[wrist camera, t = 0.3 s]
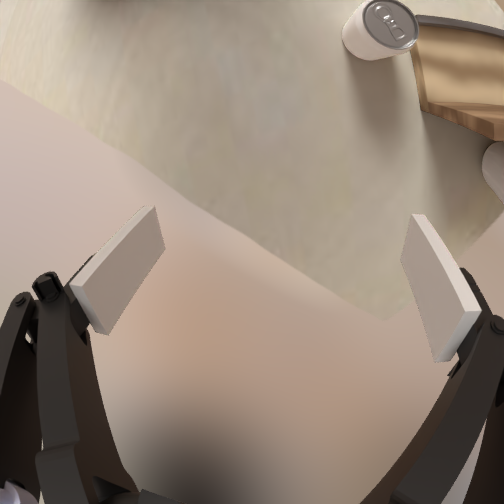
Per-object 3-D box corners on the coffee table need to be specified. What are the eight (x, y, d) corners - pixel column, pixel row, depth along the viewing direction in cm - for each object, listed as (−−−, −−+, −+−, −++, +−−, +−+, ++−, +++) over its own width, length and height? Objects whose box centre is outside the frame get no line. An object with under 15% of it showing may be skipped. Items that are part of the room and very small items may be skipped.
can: (369, 10, 23) (395, -15, 14) (398, 49, 26) (435, 40, 16) (331, 29, 26) (343, 8, 17) (360, 68, 29) (385, 64, 19)
